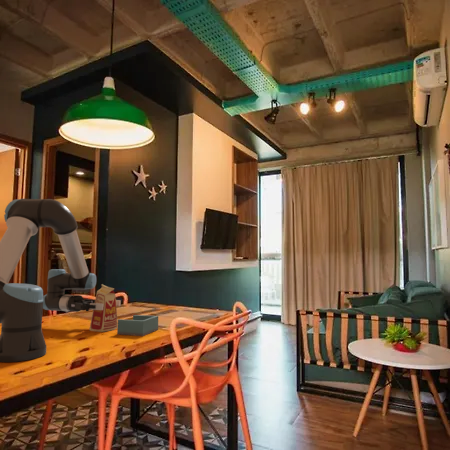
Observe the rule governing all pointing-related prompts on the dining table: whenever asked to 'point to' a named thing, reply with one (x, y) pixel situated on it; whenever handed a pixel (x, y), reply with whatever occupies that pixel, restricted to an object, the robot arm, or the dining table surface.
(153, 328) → the box
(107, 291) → the milk carton
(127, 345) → the dining table surface
